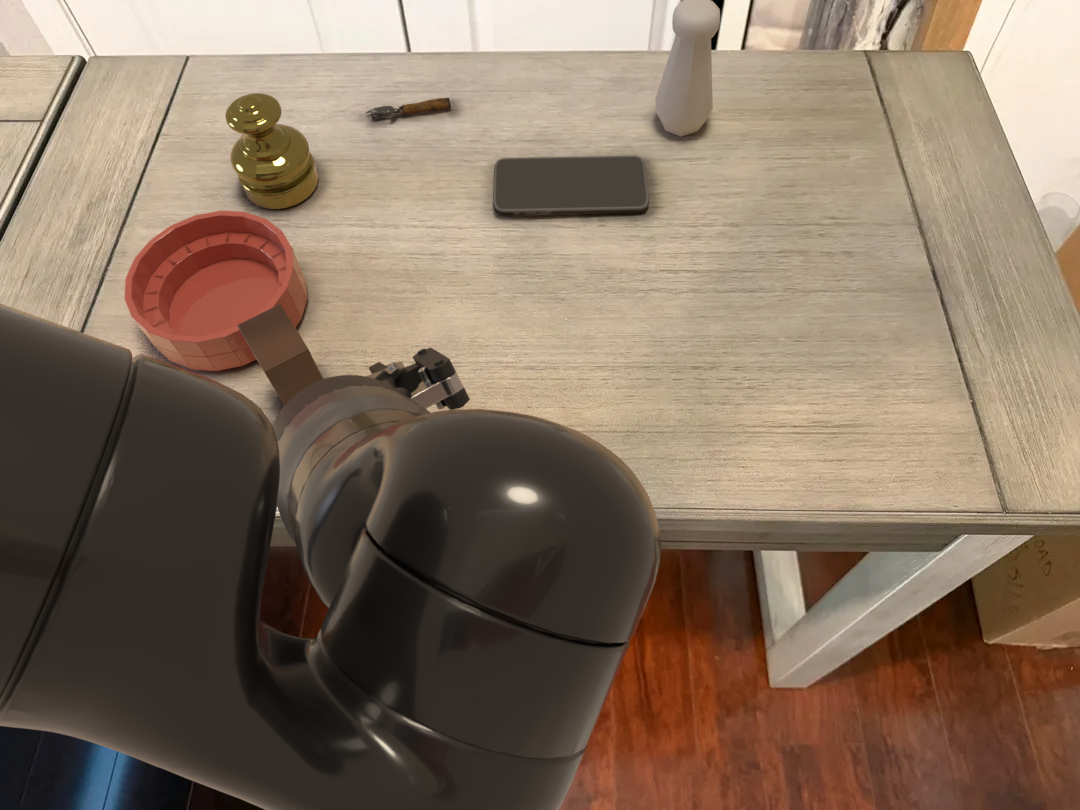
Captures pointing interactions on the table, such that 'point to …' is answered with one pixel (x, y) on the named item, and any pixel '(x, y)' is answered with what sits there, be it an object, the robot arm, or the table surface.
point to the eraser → (280, 352)
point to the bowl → (212, 286)
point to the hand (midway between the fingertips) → (318, 412)
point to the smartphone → (570, 185)
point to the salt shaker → (688, 68)
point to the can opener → (412, 108)
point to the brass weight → (269, 154)
